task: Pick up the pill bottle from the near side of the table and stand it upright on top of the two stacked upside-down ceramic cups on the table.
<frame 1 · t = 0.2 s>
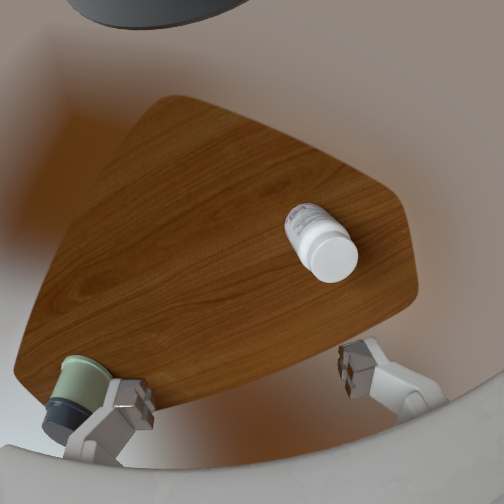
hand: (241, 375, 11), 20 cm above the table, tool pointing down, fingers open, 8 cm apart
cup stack: (88, 375, 37), on the table
pill bottle: (306, 223, 30), on the table
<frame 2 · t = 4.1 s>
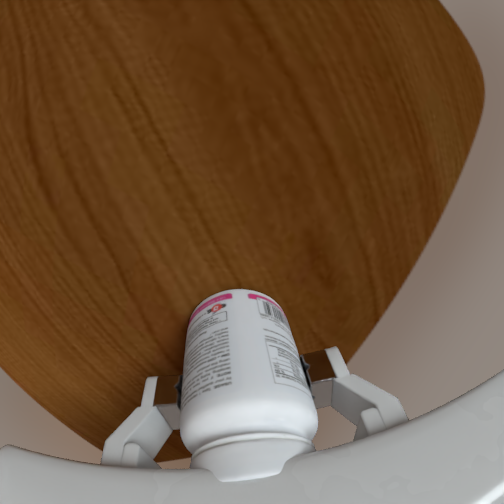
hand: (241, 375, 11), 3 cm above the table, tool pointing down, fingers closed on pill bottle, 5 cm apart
pill bottle: (237, 324, 14), on the table, touching gripper
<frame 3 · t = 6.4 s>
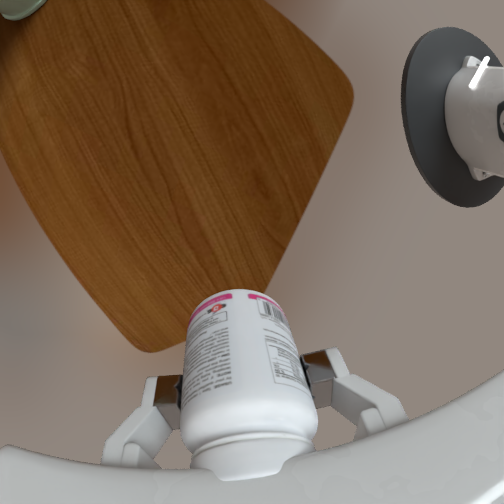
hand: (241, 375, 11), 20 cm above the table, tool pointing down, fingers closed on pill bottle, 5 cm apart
pill bottle: (237, 324, 14), point 16 cm above the table, touching gripper
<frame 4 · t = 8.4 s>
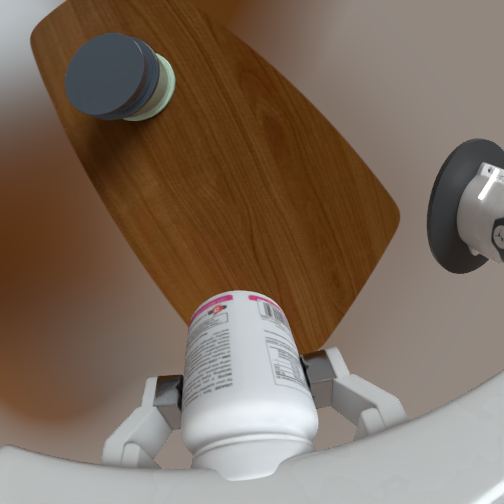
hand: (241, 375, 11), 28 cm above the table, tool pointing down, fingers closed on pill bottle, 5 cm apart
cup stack: (139, 86, 29), on the table
pill bottle: (237, 326, 14), point 24 cm above the table, touching gripper
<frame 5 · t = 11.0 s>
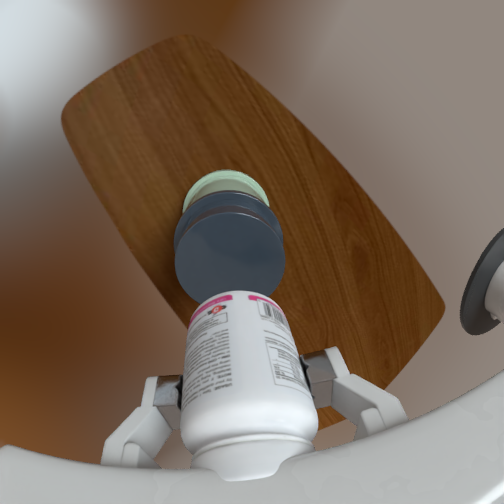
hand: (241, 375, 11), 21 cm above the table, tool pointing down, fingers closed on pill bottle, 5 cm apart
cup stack: (226, 211, 30), on the table
pill bottle: (237, 326, 14), point 18 cm above the table, touching gripper
when the fingers open (15 cm above the table, at t = 13.0 s): pill bottle stays where it is, resting on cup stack.
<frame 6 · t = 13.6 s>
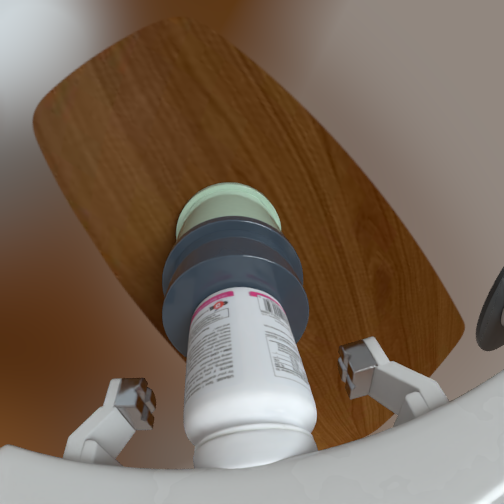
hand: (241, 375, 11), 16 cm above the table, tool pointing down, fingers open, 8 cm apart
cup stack: (228, 233, 25), on the table
pill bottle: (238, 322, 15), point 12 cm above the table, touching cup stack
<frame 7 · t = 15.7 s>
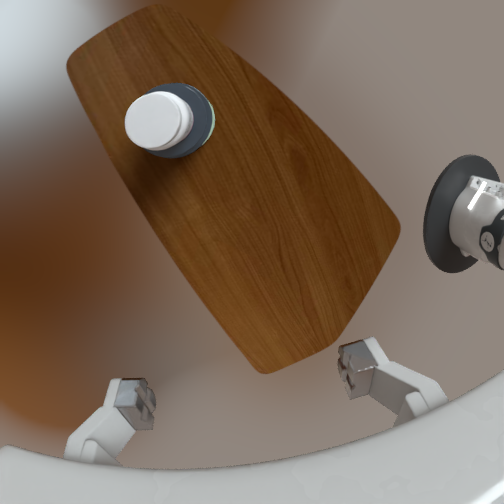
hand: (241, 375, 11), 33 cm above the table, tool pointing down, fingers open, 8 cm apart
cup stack: (182, 120, 36), on the table
pill bottle: (169, 121, 25), point 12 cm above the table, touching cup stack
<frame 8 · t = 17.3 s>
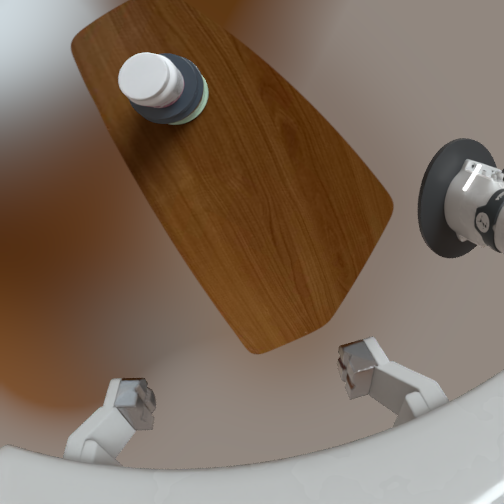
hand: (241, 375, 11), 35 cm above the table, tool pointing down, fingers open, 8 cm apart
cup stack: (177, 95, 36), on the table
pill bottle: (162, 86, 26), point 12 cm above the table, touching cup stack
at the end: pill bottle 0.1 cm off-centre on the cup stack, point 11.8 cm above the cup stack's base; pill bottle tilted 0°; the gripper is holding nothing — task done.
